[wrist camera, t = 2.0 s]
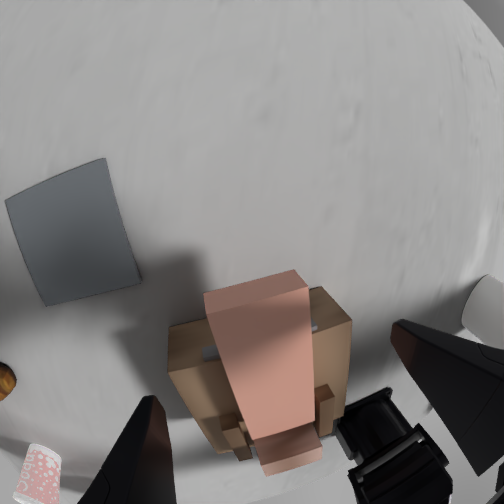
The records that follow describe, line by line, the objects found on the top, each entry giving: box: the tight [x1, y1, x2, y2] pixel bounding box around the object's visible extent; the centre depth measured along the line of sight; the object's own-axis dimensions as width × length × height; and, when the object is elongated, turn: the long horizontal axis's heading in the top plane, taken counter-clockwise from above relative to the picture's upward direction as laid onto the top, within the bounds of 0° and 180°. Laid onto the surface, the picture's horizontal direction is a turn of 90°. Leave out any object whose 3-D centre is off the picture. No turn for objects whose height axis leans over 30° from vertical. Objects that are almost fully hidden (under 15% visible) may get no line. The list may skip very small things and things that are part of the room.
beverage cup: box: [13, 443, 62, 504], centre depth 13 cm, size 6×6×14 cm
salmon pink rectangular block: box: [203, 270, 315, 440], centre depth 13 cm, size 4×10×2 cm, turn 10°
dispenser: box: [168, 286, 352, 476], centre depth 16 cm, size 10×10×7 cm
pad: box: [6, 158, 142, 307], centre depth 13 cm, size 7×7×1 cm
